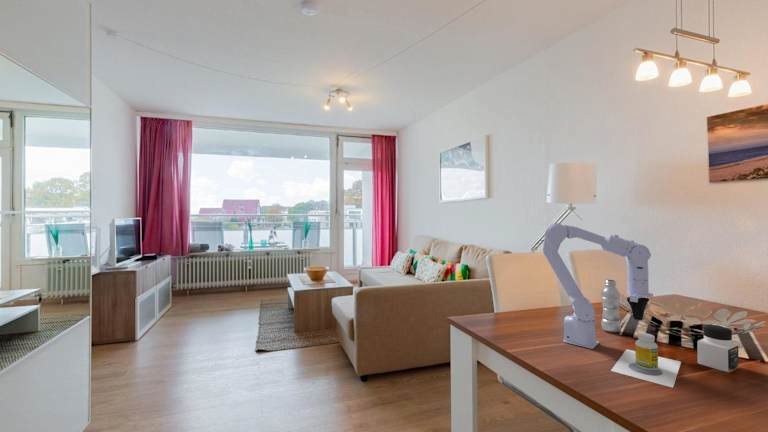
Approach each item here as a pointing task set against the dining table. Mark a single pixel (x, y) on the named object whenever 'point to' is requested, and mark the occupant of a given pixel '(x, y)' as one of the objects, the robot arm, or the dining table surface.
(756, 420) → the dining table surface
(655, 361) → the supplement bottle
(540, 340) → the dining table surface
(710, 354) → the medicine bottle
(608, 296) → the plastic bottle
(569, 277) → the robot arm
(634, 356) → the card
